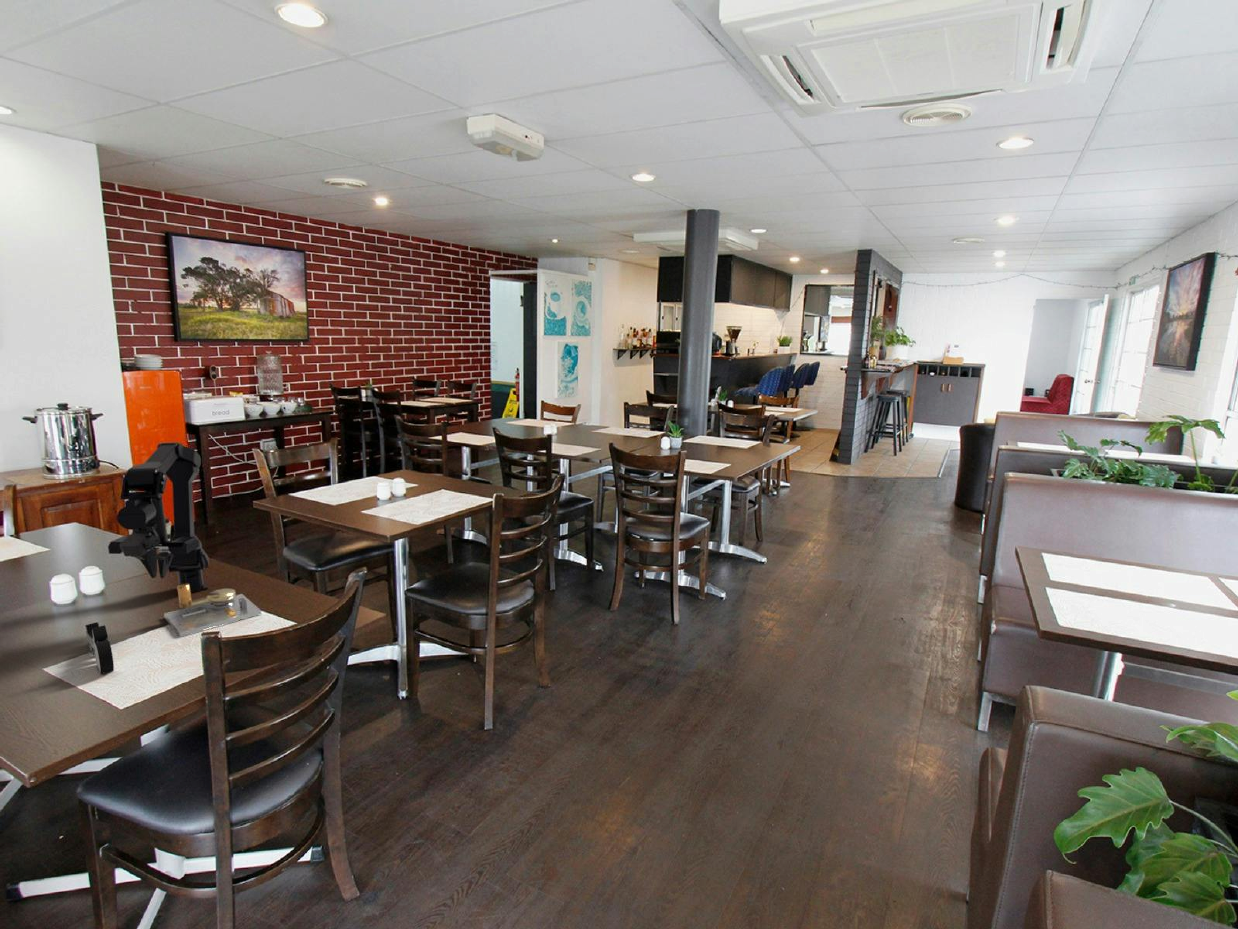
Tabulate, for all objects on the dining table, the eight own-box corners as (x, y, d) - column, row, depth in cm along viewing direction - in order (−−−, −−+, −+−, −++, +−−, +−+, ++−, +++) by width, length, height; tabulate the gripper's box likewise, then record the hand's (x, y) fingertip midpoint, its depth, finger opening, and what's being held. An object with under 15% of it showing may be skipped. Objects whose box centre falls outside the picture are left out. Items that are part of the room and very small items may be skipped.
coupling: (231, 590, 173) (229, 570, 172) (239, 597, 169) (236, 577, 168) (176, 604, 164) (174, 583, 163) (183, 611, 160) (180, 590, 159)
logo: (115, 673, 136) (107, 627, 136) (102, 677, 135) (94, 631, 134) (103, 657, 152) (95, 616, 151) (91, 660, 150) (83, 619, 150)
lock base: (164, 617, 164) (162, 604, 163) (242, 597, 177) (241, 585, 176) (180, 637, 154) (178, 623, 153) (261, 614, 167) (260, 601, 166)
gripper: (85, 527, 149) (95, 590, 152) (167, 527, 149) (175, 590, 153) (120, 513, 160) (129, 573, 163) (197, 514, 160) (204, 573, 163)
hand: (158, 577), depth 160 cm, fingers closed
